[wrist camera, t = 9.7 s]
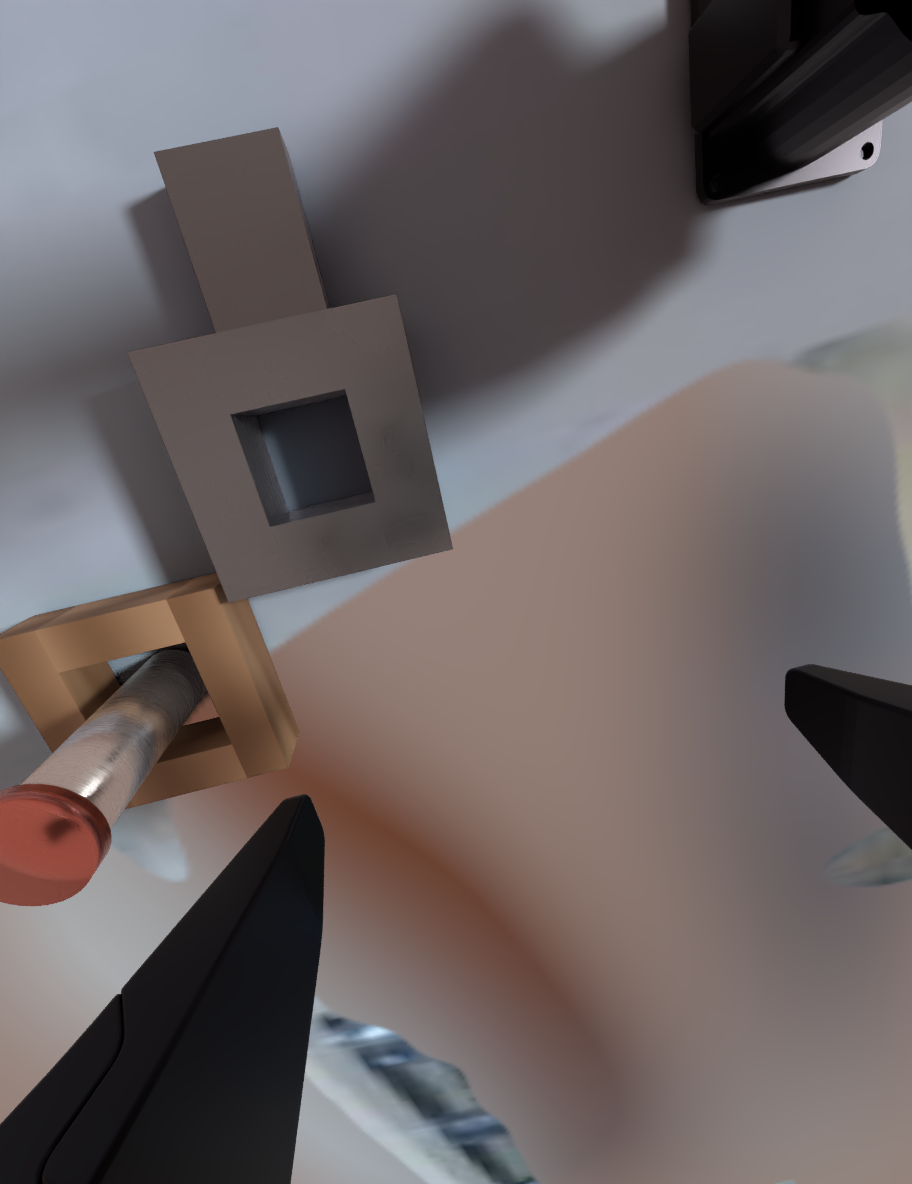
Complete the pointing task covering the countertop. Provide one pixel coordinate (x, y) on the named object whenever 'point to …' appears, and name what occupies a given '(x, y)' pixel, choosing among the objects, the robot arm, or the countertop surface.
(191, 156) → the block
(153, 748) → the hitch pin
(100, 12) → the countertop surface
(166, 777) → the frame
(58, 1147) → the robot arm
